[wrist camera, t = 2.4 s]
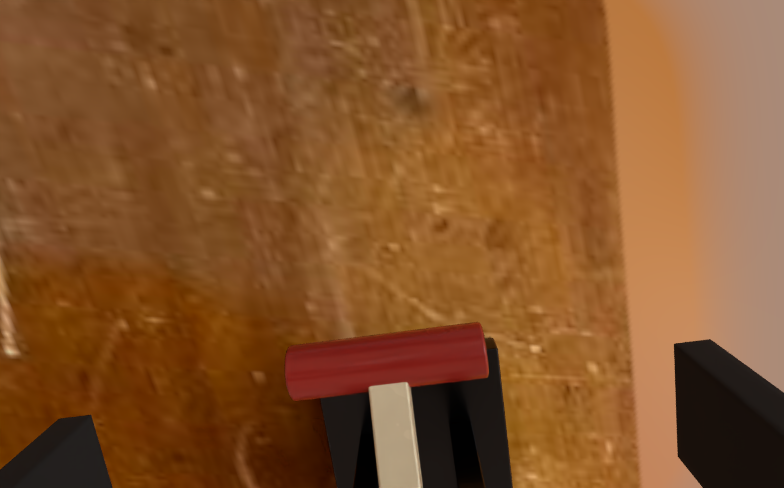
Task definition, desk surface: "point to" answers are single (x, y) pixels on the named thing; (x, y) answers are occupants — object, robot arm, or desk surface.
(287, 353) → the lever
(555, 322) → the desk surface
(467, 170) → the desk surface
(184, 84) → the desk surface
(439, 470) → the bracket
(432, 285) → the desk surface
